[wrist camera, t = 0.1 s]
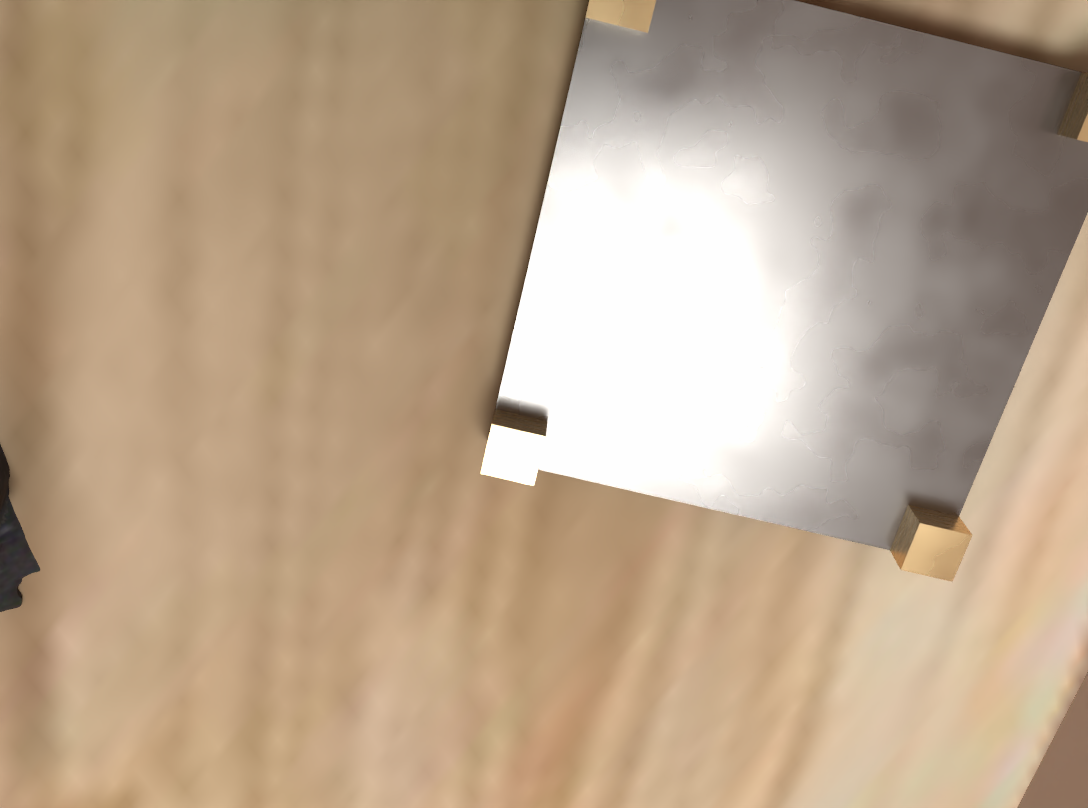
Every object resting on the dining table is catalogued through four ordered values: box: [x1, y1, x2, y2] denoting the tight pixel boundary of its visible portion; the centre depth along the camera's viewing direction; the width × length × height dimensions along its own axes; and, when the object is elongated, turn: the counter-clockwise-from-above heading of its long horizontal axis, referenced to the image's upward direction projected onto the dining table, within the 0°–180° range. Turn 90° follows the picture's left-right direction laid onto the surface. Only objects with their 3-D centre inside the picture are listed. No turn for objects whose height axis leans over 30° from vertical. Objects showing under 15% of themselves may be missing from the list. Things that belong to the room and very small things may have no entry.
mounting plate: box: [480, 0, 1088, 581], centre depth 36 cm, size 18×18×3 cm
